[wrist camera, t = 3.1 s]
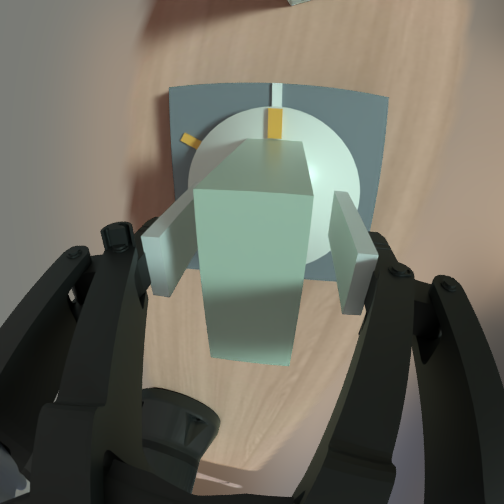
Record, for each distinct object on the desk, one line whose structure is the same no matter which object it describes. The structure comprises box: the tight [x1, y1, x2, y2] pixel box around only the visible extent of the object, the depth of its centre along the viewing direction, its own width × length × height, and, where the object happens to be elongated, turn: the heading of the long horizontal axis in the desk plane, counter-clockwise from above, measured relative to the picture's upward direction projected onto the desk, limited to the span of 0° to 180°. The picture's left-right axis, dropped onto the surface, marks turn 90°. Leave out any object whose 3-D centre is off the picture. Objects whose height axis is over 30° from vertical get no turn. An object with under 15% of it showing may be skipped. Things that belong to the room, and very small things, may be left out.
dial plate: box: [169, 83, 389, 281], centre depth 19 cm, size 14×14×2 cm
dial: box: [188, 106, 360, 366], centre depth 14 cm, size 11×11×11 cm
